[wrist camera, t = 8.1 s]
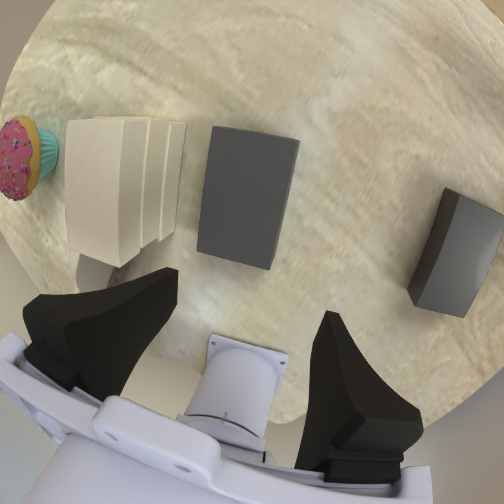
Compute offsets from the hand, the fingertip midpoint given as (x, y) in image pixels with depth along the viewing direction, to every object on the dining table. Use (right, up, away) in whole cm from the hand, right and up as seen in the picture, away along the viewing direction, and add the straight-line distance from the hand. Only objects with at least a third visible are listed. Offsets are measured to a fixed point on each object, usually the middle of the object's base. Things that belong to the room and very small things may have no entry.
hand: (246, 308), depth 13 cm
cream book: (-9, +7, +4) cm, 12 cm away
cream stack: (-8, +9, +8) cm, 15 cm away
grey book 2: (+16, +3, +5) cm, 18 cm away
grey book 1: (0, +7, +7) cm, 10 cm away
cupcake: (-22, +14, +10) cm, 28 cm away
